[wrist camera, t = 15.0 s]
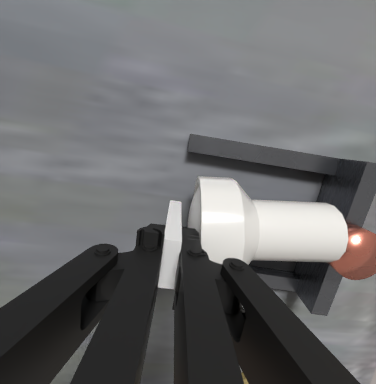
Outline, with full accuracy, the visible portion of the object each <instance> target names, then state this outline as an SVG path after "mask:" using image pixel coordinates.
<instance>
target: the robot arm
mask: <svg viewBox="0 0 376 384" xmlns="http://www.w3.org/2000/svg"><path fill="white" fill-rule="evenodd" d="M158 287H159V288H167V289H175V297H174V303H173V309H172V310H174V384H244V381H243V377H242V374H241V370H240V367H241V369H242V371H243V373H244V375H245V377H246V379H247V381H248V383H249V384H360V383H359V382H358V381H357V380H356V379H355V378H354V376H353V375H352V374H351V373H350V372H349V371H348V370H347V369H346V368H345V367H344V366H343V365H342V364H341V363H340V362H339V361H338V360H337V358H336V357H335V356H334V355H333V354H332V353H331V352H330V351H329V350H328V349H327V348H326V347H325V346H324V345H323V344H322V343H321V341H320V340H319V339H318V338H317V337H316V336H315V335H314V334H313V333H312V332H311V331H310V330H309V329H308V328H307V327H306V326H305V325H304V323H303V322H302V321H301V320H300V319H299V318H298V317H297V316H296V315H295V314H294V313H293V312H292V311H291V310H290V309H289V308H288V307H287V305H286V304H285V303H284V302H283V301H282V300H281V299H280V298H279V297H278V296H277V295H276V294H275V293H274V292H273V291H272V290H271V288H270V287H269V286H268V285H267V284H266V283H265V282H264V281H263V280H262V279H261V278H260V277H259V276H258V275H257V274H256V273H255V272H254V270H253V269H252V268H251V267H250V266H249V265H248V264H246V263H245V262H244V261H242V260H240V259H237V258H226V259H224V260H223V263H222V264H219V263H216V262H213V261H211V260H209V257H208V254H207V252H206V251H205V250H203V249H202V246H201V241H200V237H199V232H198V231H197V230H196V229H194V228H186V227H182V220H181V202H179V201H172V200H170V205H169V210H168V216H167V222H166V225H158V224H150V225H148V226H147V227H143V228H140V229H139V230H138V231H137V239H136V247H135V249H134V250H133V251H130V252H125V253H118V249H117V248H116V247H115V246H113V245H110V244H99V245H94V246H92V247H90V248H89V249H87V250H86V251H84V252H83V253H81V254H80V255H78V256H77V257H75V258H74V259H72V260H71V261H69V262H68V263H66V264H65V265H64V266H62V267H61V268H59V269H58V270H56V271H55V272H53V273H52V274H50V275H49V276H47V277H46V278H44V279H43V280H41V281H40V282H38V283H37V284H35V285H34V286H32V287H31V288H29V289H28V290H26V291H25V292H24V293H22V294H21V295H19V296H18V297H16V298H15V299H13V300H12V301H10V302H9V303H7V304H6V305H4V306H3V307H1V308H0V384H50V383H51V381H52V380H53V379H54V377H55V376H56V375H57V374H58V372H59V371H60V370H61V369H62V367H63V366H64V365H65V364H66V362H67V361H68V360H69V359H70V357H71V356H72V355H73V354H74V352H75V351H76V350H77V349H78V347H79V346H80V345H81V343H82V342H83V341H84V340H85V338H86V337H87V336H88V335H89V333H90V332H91V331H92V330H93V328H94V327H95V326H96V325H97V323H98V322H99V321H100V322H99V324H98V326H97V328H96V331H95V333H94V335H93V337H92V339H91V341H90V343H89V345H88V347H87V349H86V351H85V354H84V356H83V358H82V360H81V362H80V364H79V366H78V368H77V370H76V372H75V374H74V377H73V379H72V381H71V383H70V384H140V380H141V375H142V369H143V364H144V359H145V354H146V348H147V343H148V338H149V333H150V327H151V322H152V317H153V311H154V306H155V301H156V296H157V289H158ZM242 306H243V307H242ZM243 308H244V309H243ZM239 365H240V367H239Z"/></svg>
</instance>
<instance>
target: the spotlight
mask: <svg viewBox="0 0 376 384" xmlns="http://www.w3.org/2000/svg"><path fill="white" fill-rule="evenodd" d="M188 228H194V229H196V230H197V231H198V232H199V237H200V241H201V246H202V249H203V250H205V251H206V252H207V254H208V257H209V260H211V261H213V262H216V263H219V264H222V263H223V260H224V259H226V258H237V259H240V260H242V261H244V262H245V263H246V264H248V265H249V264H250V262H251V261H252V260H264V261H299V262H333V261H336V260H339V259H340V258H341V256H342V255H343V254H344V253H345V251H346V248H347V243H348V229H347V224H346V222H345V220H344V217H343V215H342V213H341V212H340V211H339V210H338V209H337V208H336V207H335V206H333V205H330V204H328V203H320V202H296V201H272V200H251V199H250V198H249V196H248V195H247V194H246V193H245V192H244V190H243V189H242V188H241V187H240V185H239V184H238V183H237V182H236V181H235V180H233V179H232V178H224V177H202V176H198V177H197V179H196V183H195V190H194V197H193V200H192V203H191V206H190V210H189V217H188Z"/></svg>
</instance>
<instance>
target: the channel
mask: <svg viewBox="0 0 376 384" xmlns="http://www.w3.org/2000/svg"><path fill="white" fill-rule="evenodd" d="M188 151H189V152H195V153H201V154H207V155H213V156H219V157H225V158H231V159H237V160H244V161H250V162H256V163H262V164H268V165H274V166H280V167H286V168H292V169H298V170H305V171H311V172H317V173H323V174H326V175H325V178H324V181H323V184H322V187H321V191H320V194H319V197H318V200H317V202H320V203H328V204H330V205H333V206H335V207H336V208H337V209H338V210H339V211H340V212H341V213H342V215H343V217H344V220H345V222H346V224H347V229H348V243H347V248H346V251H345V253H344V254H343V255H342V256H341V258H340V259H339V260H336V261H333V262H299V261H297V264H296V267H295V270H294V272H288V271H282V270H275V269H268V268H261V267H254V266H250V267H251V268H252V269H253V270H254V272H255V273H256V274H257V275H258V276H259V277H260V278H261V279H262V280H263V281H264V282H265V283H266V284H267V285H268V286H269V287H270V288H273V289H280V290H287V291H294V292H296V293H297V294H298V296H299V297H300V299H301V300H302V301H303V303H304V304H305V306H306V307H307V308H308V310H309V311H310V313H311V314H317V315H325V316H327V315H328V312H329V310H330V307H331V304H332V302H333V299H334V297H335V294H336V292H337V289H338V287H339V284H340V282H341V279H342V277H345V278H348V279H351V280H360V279H365V278H368V277H370V276H372V275H374V274H375V273H376V234H374V233H372V232H370V231H368V230H366V229H364V228H362V226H363V223H364V221H365V218H366V216H367V213H368V211H369V208H370V206H371V203H372V201H373V198H374V195H375V193H376V163H371V162H364V161H355V160H345V159H338V158H332V157H326V156H320V155H314V154H308V153H302V152H296V151H290V150H284V149H278V148H272V147H266V146H260V145H254V144H248V143H242V142H236V141H230V140H224V139H218V138H212V137H206V136H200V135H194V134H190V139H189V145H188Z"/></svg>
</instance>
